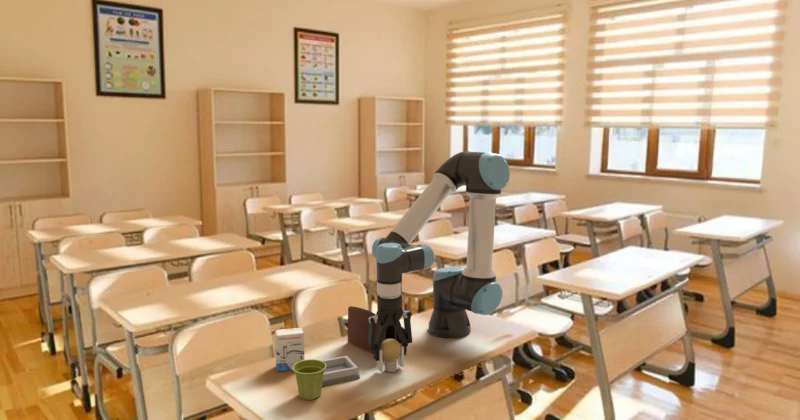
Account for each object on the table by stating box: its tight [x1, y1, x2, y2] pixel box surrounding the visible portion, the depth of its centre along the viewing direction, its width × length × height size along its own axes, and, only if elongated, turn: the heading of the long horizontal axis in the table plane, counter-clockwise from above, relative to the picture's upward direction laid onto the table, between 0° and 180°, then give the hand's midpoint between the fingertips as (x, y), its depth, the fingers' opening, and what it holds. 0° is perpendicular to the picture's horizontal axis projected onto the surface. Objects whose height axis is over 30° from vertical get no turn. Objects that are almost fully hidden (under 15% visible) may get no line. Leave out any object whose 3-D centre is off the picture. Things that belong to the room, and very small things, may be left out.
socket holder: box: [320, 355, 361, 387], centre depth 181 cm, size 13×12×3 cm
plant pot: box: [292, 358, 326, 401], centre depth 168 cm, size 9×9×9 cm
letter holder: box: [347, 305, 408, 360], centre depth 202 cm, size 10×20×14 cm, turn 41°
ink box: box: [274, 327, 305, 372], centre depth 187 cm, size 9×5×12 cm, turn 105°
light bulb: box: [380, 339, 401, 373], centre depth 183 cm, size 6×6×10 cm
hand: (390, 367), depth 184 cm, fingers closed on light bulb, 6 cm apart
